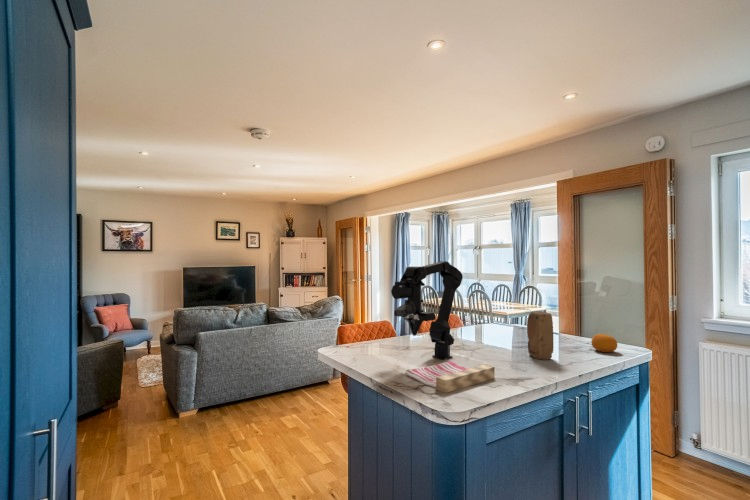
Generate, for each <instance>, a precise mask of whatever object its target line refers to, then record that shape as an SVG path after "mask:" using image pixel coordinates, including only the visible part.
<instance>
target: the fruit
mask: <svg viewBox="0 0 750 500" xmlns="http://www.w3.org/2000/svg"><path fill="white" fill-rule="evenodd" d="M591 346H592V348H594V350H596V351H597V350H598V352H600V351H601V353H613V352H615V351H616V350H617V348H618V341H617V340H616V338H614V337H613V336H611V335H608V334H607V333H606V334H605V333H597V334H595V335H593V337H592V339H591Z"/></svg>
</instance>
